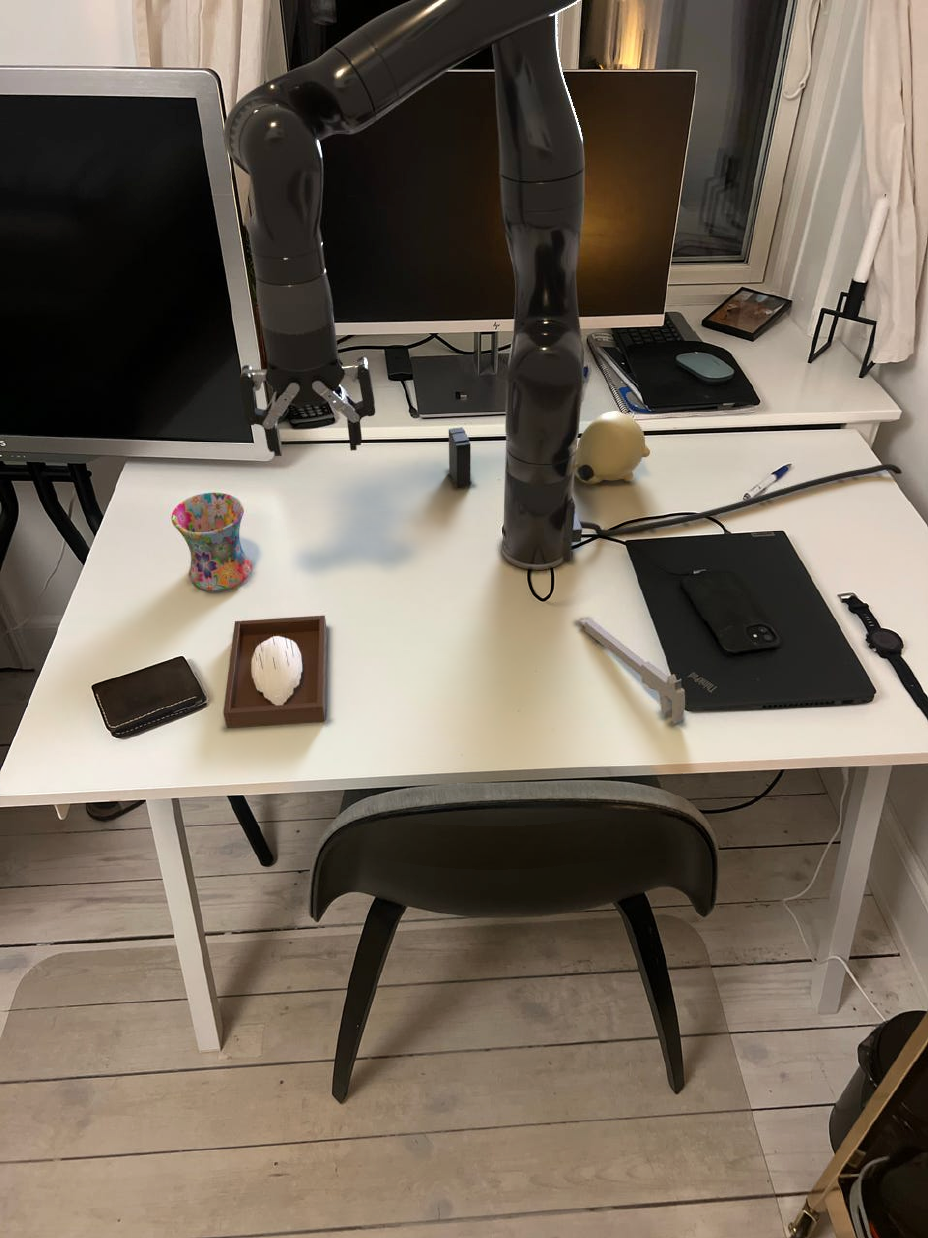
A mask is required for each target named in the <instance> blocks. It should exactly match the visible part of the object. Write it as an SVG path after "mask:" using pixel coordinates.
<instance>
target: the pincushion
mask: <svg viewBox="0 0 928 1238" xmlns="http://www.w3.org/2000/svg"><path fill="white" fill-rule="evenodd" d="M272 636H273V633H272ZM259 640H260V637H259ZM253 646H254V643H253ZM301 660H302V659H301V653H300V651H299V648H298V646H297V644H296V643H295V642H294V641H292V640H291V638H290V639H288V638H286V635H285V638H283V637H281V636H273V637H271V638H269V639H268V640H266V641H264V642H262V643H261V642H260V644H259V646H257V648H256V649H255V648H254V654H253V657H252V661H251V662H252V664H251V666H252V667H251V672H252V678H253V679H254V683H255V685H256V688H257V690H259V691H260V692H262V693H263V695H264V697H265V698H267V699H268V700H270V701H271V702H272V703H273V704H275V705H283V704H284V702H286V701H287V698H289V697H290V695H292V694H293V689H294V688H296V687H297V685H299V683H300V682H299V680H300V678H301V672H302V661H301Z"/></svg>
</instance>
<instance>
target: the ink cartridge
mask: <svg viewBox="0 0 928 1238" xmlns="http://www.w3.org/2000/svg"><path fill="white" fill-rule="evenodd" d="M471 449H472V448H471V442H470V439H469V437H468V435H467V433H466V431H465V429H464V427H462V426H461V427H454V428H448V470H449V471H448V472H449V474H450V477H451V479H452V481H453V483H454V485H455V488H456V489H457V488H465V487H470V486H471V484H472V481H471V459H472V458H471V457H472V456H471V455H472V454H471Z"/></svg>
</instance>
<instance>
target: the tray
mask: <svg viewBox="0 0 928 1238" xmlns="http://www.w3.org/2000/svg"><path fill="white" fill-rule="evenodd" d="M326 621H327V619H326V615H309V616H295V617H293V616H292V617H279V618H278V617H277V618H264V619H263V618H262V619H248V620H247V619H245V620H235V621H234V625H233V633H232V641H231V648H230V655H229V665H228V672H227V682H226V687H225V697H224V703H223V711H222V714H223V719H224V722H225V726H226V729H237V728H251V727H264V726H279V725H292V724H293V725H294V724H305V723H306V724H308V723H321V722H322V723H323V722H326V701H327V700H326V697H327V695H326V694H327V693H326V691H327V651H328V650H327V644H328V643H327V640H328V635H327V634H328V627H327V622H326ZM272 633H273V636H281V637H283V638H285V635H286V638H288V639H290V638H291V640H292V641H294V642H295V643H296V644H297V646H298V648H299V651H300V653H301V659H302V660H301V661H302V672H301V678H300V680H299V682H300V683H299V685H297V687H296V688H294V689H293V694H292V695H290V697H289V698H287V701H286V702H284V704H283V705H275V704H273V703H272V702H271V701H270V700H268V699H267V698H265V697H264V695H263V693H262V692H260V691H259V690H257V688H256V685H255V683H254V679H253V678H252V672H251V667H252V666H251V664H252V662H251V661H252V657H253V654H254V648H255V649H256V648H257V646H259V644H260V642H261V643H262V642H264V641H266V640H268V639H269V638H271V637H273V636H272ZM259 637H260V640H259ZM253 643H254V646H253Z"/></svg>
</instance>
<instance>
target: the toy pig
mask: <svg viewBox="0 0 928 1238" xmlns="http://www.w3.org/2000/svg"><path fill="white" fill-rule="evenodd" d="M650 453H651V450H650V448H649V447H648V446H647V445H646V439H645V434H644V431H643V428H642V427H641V426H640V424H639V423H638V422H637V421H636V420H635V419H634V418H633V417H631V416H630V415H629V414H626V413H624V412H621V411H615V410H613V411H607V412H604V413H601V414H600V415H598V416H597V417H596V418H594V419H593V420H592V421H591V422H590V423H589V425H588V426H587V427H586V428H585V429H584V431H583V433H582V434H581V435H580V438H579V440H578V441H577V448H576V458H575V469H574V475H575V476H576V477H577V479H579V480H580V481H581V482H582V483H584V484H588V485H595V484H598V483H600V482H602V481H619V480H623V481H625V482H631V481H633V478H634V474H633V471H635V469H637V467H638V466H639V465H640V463H641V461H642V458H648V457H649V456H650Z"/></svg>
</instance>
